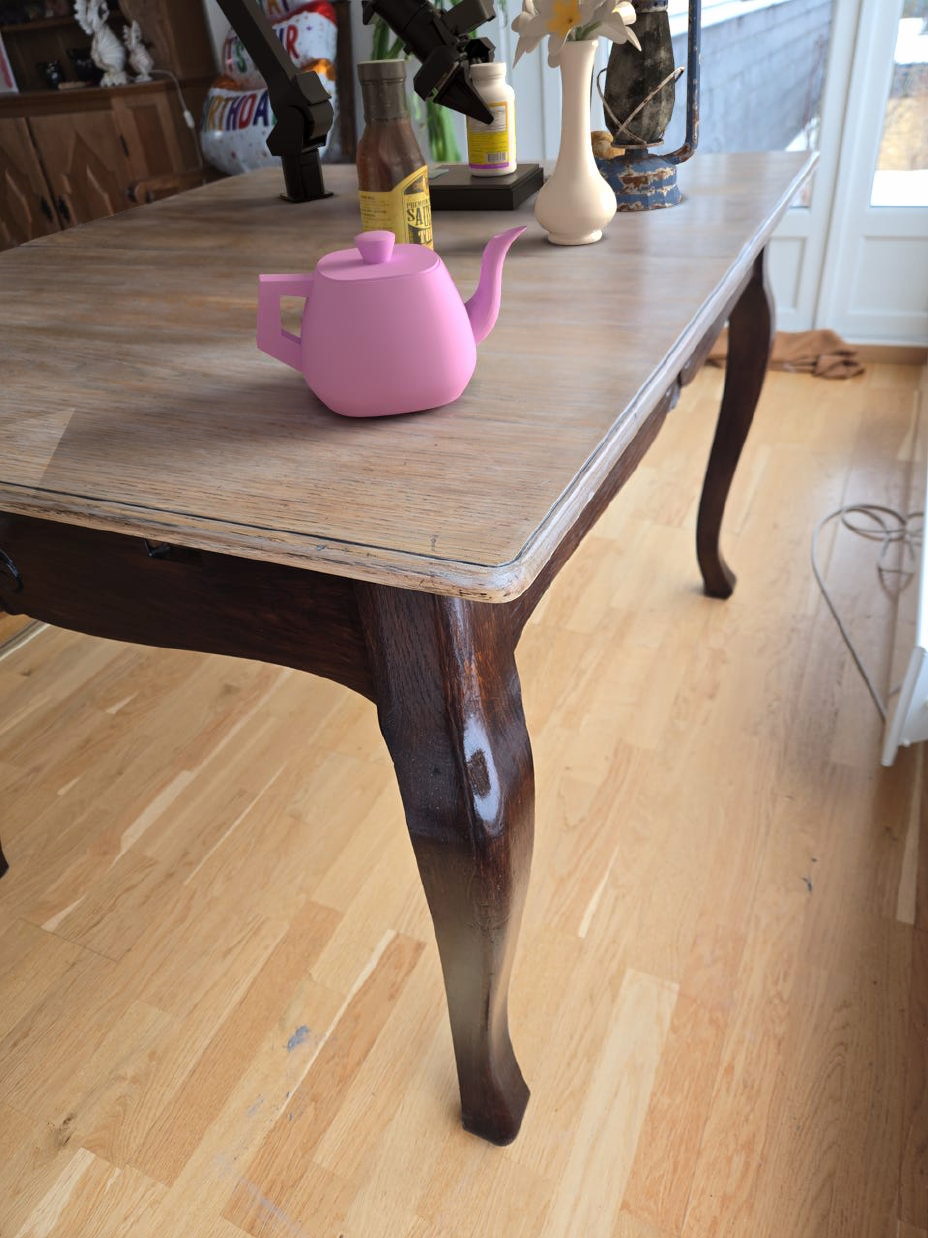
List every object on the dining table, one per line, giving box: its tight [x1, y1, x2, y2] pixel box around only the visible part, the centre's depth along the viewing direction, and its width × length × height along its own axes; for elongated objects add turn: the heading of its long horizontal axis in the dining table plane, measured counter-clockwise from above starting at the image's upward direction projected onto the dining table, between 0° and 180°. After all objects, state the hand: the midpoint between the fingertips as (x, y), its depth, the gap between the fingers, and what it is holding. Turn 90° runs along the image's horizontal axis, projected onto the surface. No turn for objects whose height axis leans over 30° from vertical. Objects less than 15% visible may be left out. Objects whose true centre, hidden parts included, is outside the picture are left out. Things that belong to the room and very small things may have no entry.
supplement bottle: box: [465, 61, 517, 177], centre depth 116 cm, size 7×7×13 cm
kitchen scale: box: [427, 163, 545, 211], centre depth 121 cm, size 16×16×3 cm
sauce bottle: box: [355, 58, 434, 251], centre depth 76 cm, size 7×6×20 cm
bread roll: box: [591, 130, 625, 159], centre depth 126 cm, size 10×10×8 cm
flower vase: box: [510, 0, 641, 246], centre depth 92 cm, size 13×18×25 cm
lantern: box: [590, 0, 702, 212], centre depth 105 cm, size 15×12×30 cm
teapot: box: [255, 225, 528, 418], centre depth 62 cm, size 13×20×11 cm
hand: (500, 117), depth 115 cm, fingers open, 7 cm apart
